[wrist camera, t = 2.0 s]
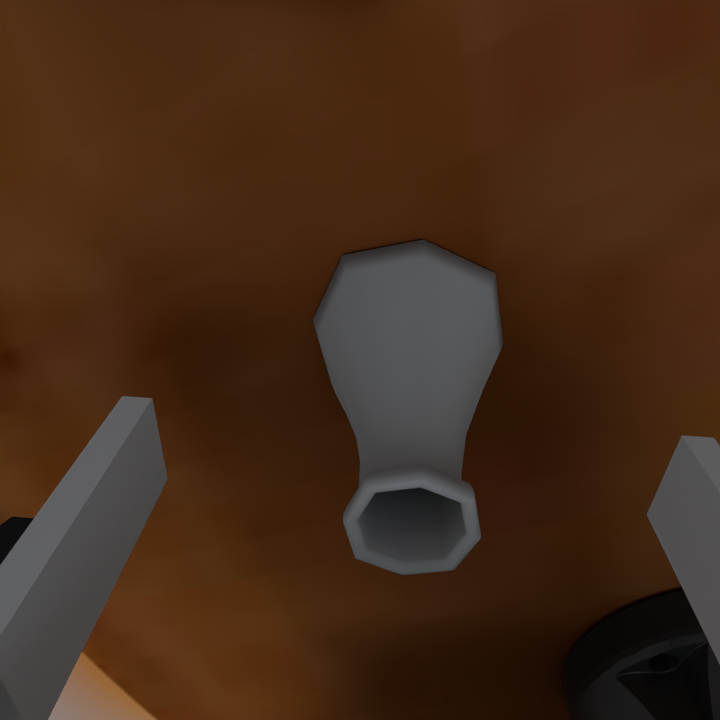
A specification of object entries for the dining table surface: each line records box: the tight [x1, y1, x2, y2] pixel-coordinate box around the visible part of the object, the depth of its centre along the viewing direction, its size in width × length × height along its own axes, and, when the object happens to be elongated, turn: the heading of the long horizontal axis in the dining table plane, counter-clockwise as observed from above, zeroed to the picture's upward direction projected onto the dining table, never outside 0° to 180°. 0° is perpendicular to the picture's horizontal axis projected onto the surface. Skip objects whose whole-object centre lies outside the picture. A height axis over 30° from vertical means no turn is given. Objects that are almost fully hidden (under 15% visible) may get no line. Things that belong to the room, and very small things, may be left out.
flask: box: [313, 240, 503, 575], centre depth 17 cm, size 7×7×10 cm
